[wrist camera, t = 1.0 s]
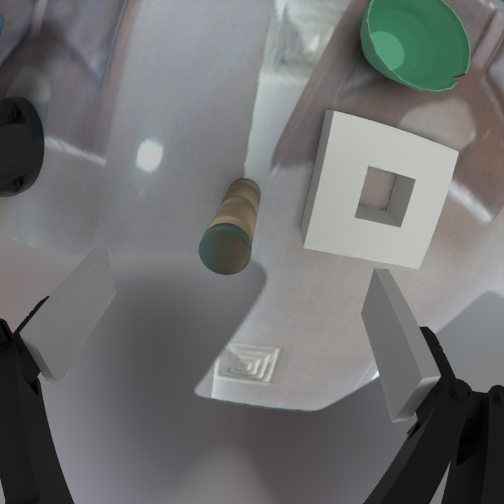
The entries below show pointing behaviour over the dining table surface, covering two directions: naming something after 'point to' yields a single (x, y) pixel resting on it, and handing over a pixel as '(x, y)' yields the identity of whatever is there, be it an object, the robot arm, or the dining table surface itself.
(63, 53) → the dining table surface
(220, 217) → the peg
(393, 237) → the socket block
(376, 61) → the mug
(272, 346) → the dining table surface
